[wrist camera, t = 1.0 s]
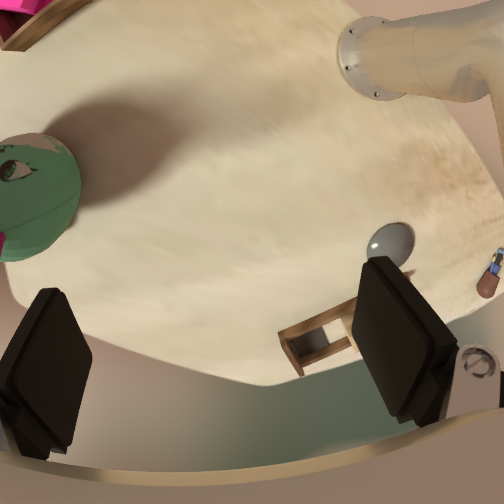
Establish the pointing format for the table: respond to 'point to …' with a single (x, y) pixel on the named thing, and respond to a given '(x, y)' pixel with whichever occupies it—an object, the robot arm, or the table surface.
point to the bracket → (24, 6)
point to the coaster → (392, 243)
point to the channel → (315, 337)
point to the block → (349, 329)
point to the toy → (35, 194)
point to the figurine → (491, 277)
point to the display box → (34, 24)
